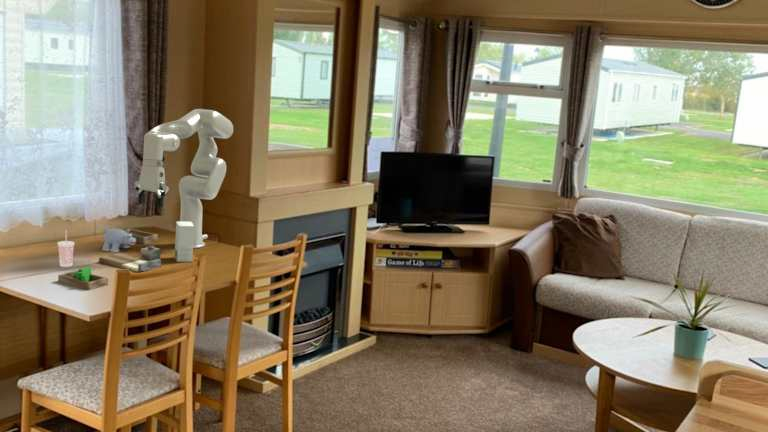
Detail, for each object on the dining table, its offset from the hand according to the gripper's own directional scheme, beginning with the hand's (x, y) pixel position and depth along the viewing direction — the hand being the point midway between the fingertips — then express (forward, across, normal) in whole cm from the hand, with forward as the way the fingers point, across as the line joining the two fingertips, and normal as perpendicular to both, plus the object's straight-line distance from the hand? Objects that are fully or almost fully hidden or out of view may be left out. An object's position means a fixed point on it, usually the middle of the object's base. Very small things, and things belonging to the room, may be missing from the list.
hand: (150, 205), depth 311 cm
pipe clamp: (+25, -7, +40) cm, 47 cm away
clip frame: (+22, +28, -23) cm, 42 cm away
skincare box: (+23, -10, -10) cm, 27 cm away
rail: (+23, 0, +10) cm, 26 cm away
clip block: (+23, -1, 0) cm, 23 cm away
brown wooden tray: (+25, -7, +40) cm, 47 cm away
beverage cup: (+24, +16, +27) cm, 40 cm away
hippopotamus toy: (+23, +21, -5) cm, 31 cm away
